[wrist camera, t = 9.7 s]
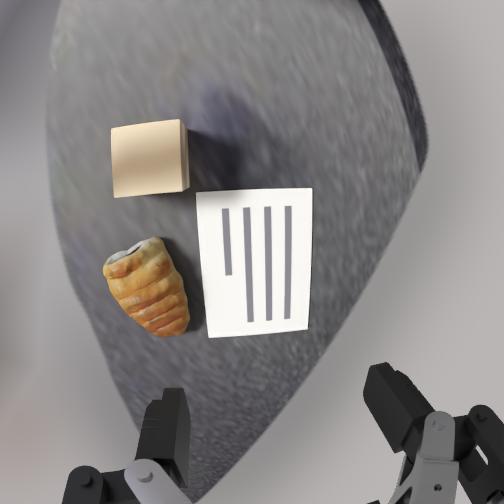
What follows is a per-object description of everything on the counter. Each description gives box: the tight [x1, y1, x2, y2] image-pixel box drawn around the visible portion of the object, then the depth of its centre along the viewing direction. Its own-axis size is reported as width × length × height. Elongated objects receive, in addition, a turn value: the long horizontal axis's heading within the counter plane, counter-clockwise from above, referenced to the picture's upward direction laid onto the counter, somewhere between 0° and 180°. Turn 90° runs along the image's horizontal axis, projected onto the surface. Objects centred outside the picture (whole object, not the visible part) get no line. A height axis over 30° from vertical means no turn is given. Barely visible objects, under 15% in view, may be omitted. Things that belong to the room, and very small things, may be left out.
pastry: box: [103, 237, 190, 337], centre depth 24 cm, size 9×7×4 cm
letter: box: [196, 188, 312, 338], centre depth 26 cm, size 14×10×1 cm
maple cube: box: [111, 119, 190, 198], centre depth 20 cm, size 5×5×5 cm
